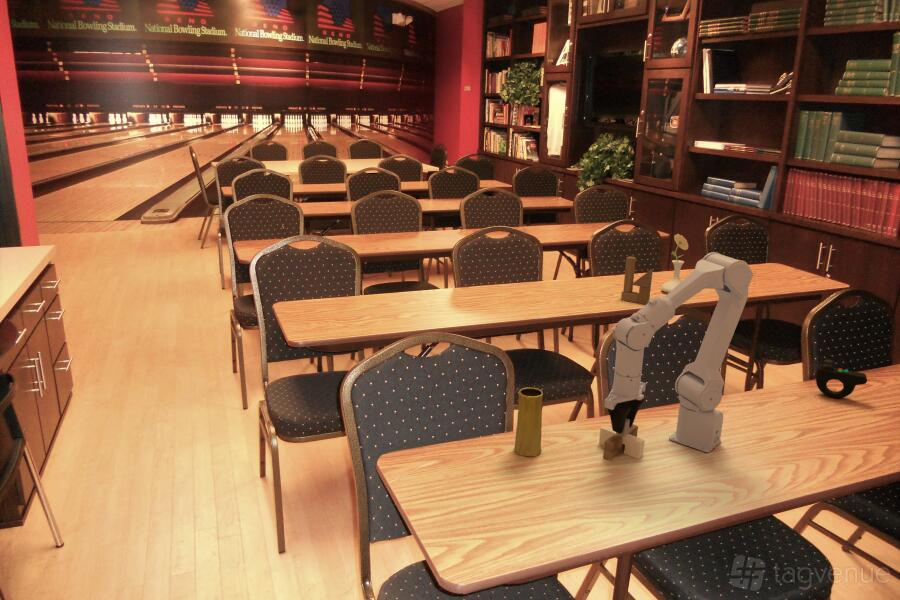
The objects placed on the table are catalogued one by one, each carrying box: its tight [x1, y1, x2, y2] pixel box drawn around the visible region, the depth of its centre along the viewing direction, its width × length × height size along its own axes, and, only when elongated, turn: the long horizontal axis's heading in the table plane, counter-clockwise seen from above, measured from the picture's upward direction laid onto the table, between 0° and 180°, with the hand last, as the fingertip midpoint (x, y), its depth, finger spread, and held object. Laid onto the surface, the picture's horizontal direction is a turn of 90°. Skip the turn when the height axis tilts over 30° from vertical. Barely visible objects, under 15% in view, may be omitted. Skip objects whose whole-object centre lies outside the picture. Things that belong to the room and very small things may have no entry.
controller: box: [813, 359, 868, 399], centre depth 180 cm, size 4×12×10 cm, turn 58°
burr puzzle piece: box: [598, 418, 646, 460], centre depth 150 cm, size 10×2×8 cm, turn 46°
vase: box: [513, 387, 544, 458], centre depth 148 cm, size 6×6×14 cm
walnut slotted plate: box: [602, 424, 639, 461], centre depth 150 cm, size 12×2×4 cm, turn 138°
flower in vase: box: [660, 233, 689, 294], centre depth 282 cm, size 13×11×25 cm
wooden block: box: [620, 256, 654, 306], centre depth 267 cm, size 4×11×18 cm, turn 54°
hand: (622, 428), depth 150 cm, fingers open, 4 cm apart
